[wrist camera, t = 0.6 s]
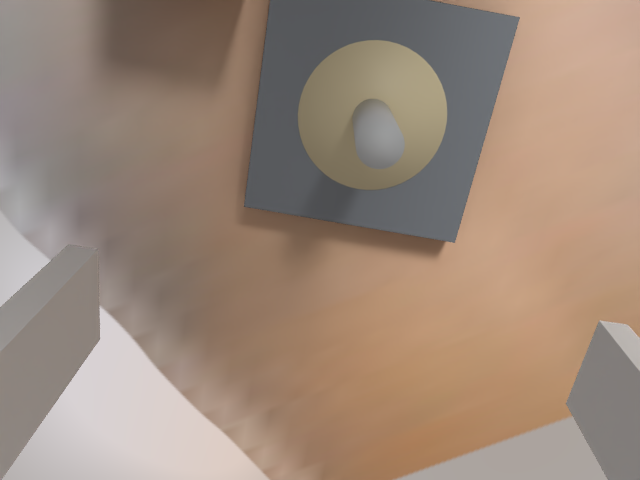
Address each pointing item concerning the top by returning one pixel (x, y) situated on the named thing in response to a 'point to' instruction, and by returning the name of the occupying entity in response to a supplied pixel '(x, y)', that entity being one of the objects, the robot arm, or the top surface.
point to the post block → (375, 111)
